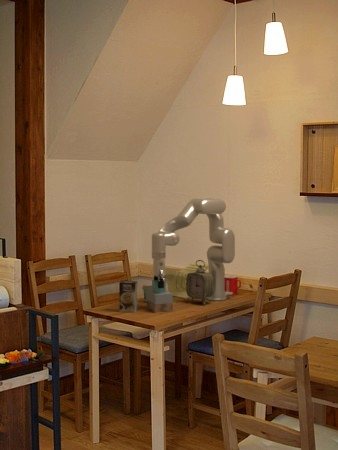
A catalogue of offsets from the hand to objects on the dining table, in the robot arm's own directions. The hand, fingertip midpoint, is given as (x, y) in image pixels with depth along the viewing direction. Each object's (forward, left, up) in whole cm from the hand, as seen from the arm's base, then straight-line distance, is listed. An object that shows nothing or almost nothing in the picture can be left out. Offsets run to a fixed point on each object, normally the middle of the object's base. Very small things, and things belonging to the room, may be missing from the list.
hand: (158, 286), depth 362 cm
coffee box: (+17, 0, -13) cm, 21 cm away
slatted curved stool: (-25, -37, -13) cm, 46 cm away
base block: (0, 0, -13) cm, 13 cm away
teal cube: (0, 0, -3) cm, 3 cm away
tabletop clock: (-27, -9, -13) cm, 31 cm away
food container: (-2, -19, -13) cm, 23 cm away
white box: (0, 0, -8) cm, 8 cm away
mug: (-54, -30, -13) cm, 63 cm away
